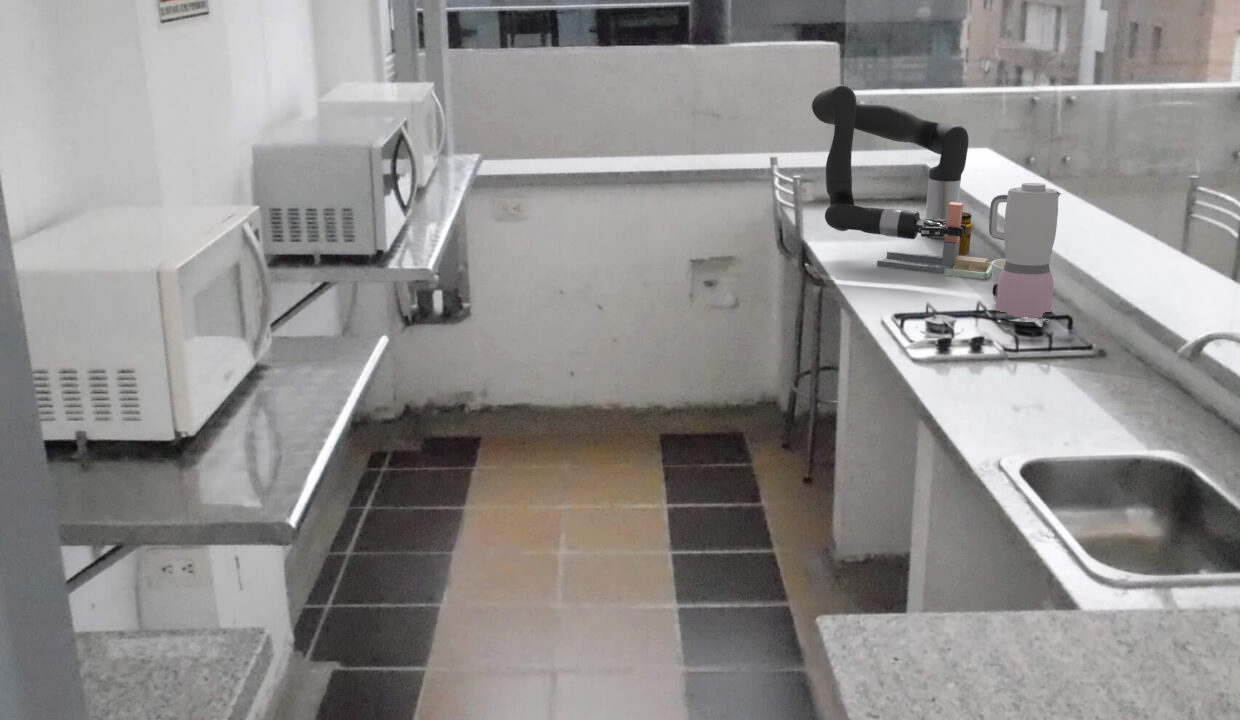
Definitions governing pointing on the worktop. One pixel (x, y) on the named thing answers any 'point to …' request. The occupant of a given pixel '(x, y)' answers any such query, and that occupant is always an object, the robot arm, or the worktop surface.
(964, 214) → the condiment
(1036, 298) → the blender
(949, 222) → the pink and grey block
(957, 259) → the wooden cube
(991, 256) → the worktop surface
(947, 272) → the tray
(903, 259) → the slot board
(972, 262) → the chip
